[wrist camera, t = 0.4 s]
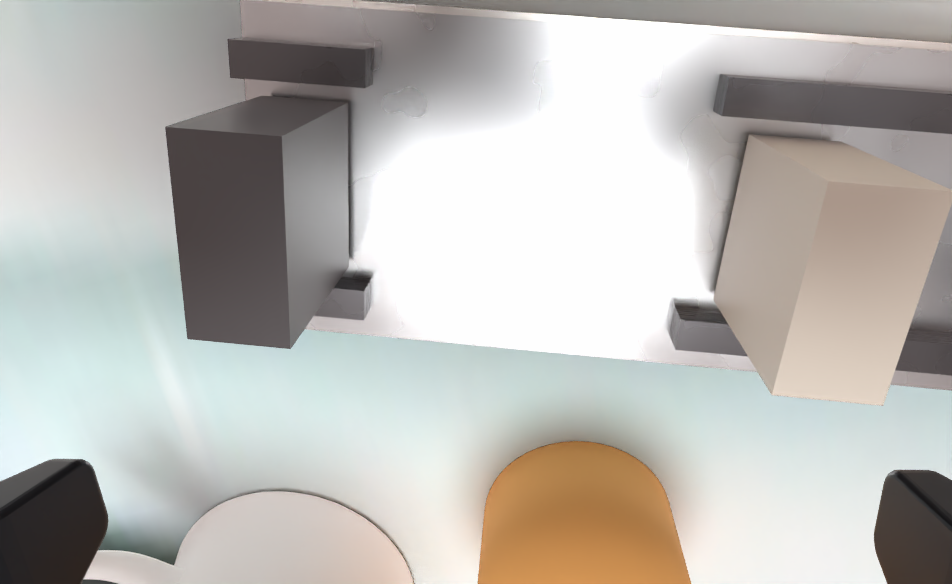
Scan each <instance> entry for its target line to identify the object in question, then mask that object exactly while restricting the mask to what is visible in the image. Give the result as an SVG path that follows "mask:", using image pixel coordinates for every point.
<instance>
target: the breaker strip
mask: <svg viewBox="0 0 952 584" xmlns="http://www.w3.org/2000/svg"><path fill="white" fill-rule="evenodd" d="M240 10H241V27H242V38H234V39H228V50H229V65H230V78H240V79H245V94H246V101H247V100H250V99H253V98H256V97H259V96H274V97H286V98H299V99H312V100H324V101H337V102H348V203H349V267H348V269H347V270H346V271H345V273H344V274H343V276H342V277H341V279H340V280H339V281H338V283H337V284H336V286H335V287H334V288H333V290H332V291H331V293H330V294H329V295H328V297H327V298H326V300H325V301H324V302H323V304H322V305H321V307H320V308H319V309H318V311H317V312H316V314H315V315H314V316H313V318H312V319H311V321H310V322H309V323H308V325H307V326H306V328H305V329H308V330H319V331H329V332H340V333H351V334H361V335H372V336H382V337H393V338H403V339H414V340H425V341H435V342H446V343H456V344H467V345H477V346H488V347H499V348H509V349H520V350H530V351H541V352H551V353H562V354H573V355H583V356H594V357H604V358H615V359H625V360H636V361H647V362H657V363H668V364H678V365H689V366H699V367H710V368H721V369H731V370H742V371H752V372H757V370H756V369H755V367H754V365H753V364H752V362H751V360H750V359H749V357H748V356H747V354H746V352H745V351H744V349H743V347H742V346H741V344H740V342H739V341H738V339H737V338H736V336H735V334H734V333H733V331H732V329H731V328H730V326H729V325H728V323H727V321H726V320H725V318H724V316H723V315H722V313H721V312H720V310H719V308H718V307H717V305H716V303H715V302H714V300H713V298H714V294H715V289H716V285H717V280H718V275H719V271H720V266H721V261H722V257H723V252H724V247H725V243H726V238H727V234H728V229H729V224H730V220H731V215H732V210H733V206H734V201H735V197H736V192H737V187H738V183H739V178H740V173H741V169H742V164H743V159H744V155H745V150H746V146H747V141H748V136H749V134H753V135H766V136H778V137H791V138H804V139H816V140H829V141H841V142H843V143H846V144H848V145H850V146H852V147H855V148H857V149H859V150H862V151H864V152H866V153H869V154H871V155H873V156H875V157H878V158H880V159H882V160H885V161H887V162H889V163H891V164H894V165H896V166H898V167H901V168H903V169H905V170H907V171H910V172H912V173H914V174H917V175H919V176H921V177H924V178H926V179H928V180H930V181H933V182H935V183H937V184H940V185H942V186H944V187H946V188H949V189H951V190H952V43H942V42H928V41H914V40H900V39H886V38H873V37H859V36H845V35H831V34H818V33H804V32H790V31H776V30H762V29H749V28H735V27H721V26H707V25H693V24H680V23H666V22H652V21H638V20H624V19H611V18H597V17H583V16H569V15H555V14H542V13H528V12H514V11H500V10H486V9H473V8H459V7H445V6H431V5H417V4H404V3H390V2H376V1H362V0H240ZM890 385H900V386H911V387H921V388H932V389H943V390H952V204H951V207H950V210H949V213H948V216H947V219H946V222H945V225H944V228H943V231H942V234H941V237H940V240H939V243H938V246H937V248H936V251H935V254H934V257H933V260H932V263H931V266H930V269H929V272H928V275H927V278H926V281H925V284H924V287H923V290H922V293H921V295H920V298H919V301H918V304H917V307H916V310H915V313H914V316H913V319H912V322H911V325H910V328H909V331H908V334H907V337H906V340H905V343H904V345H903V348H902V351H901V354H900V357H899V360H898V363H897V366H896V369H895V372H894V375H893V378H892V381H891V384H890Z"/></svg>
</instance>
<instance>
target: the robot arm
mask: <svg viewBox="0 0 952 584" xmlns="http://www.w3.org/2000/svg"><path fill="white" fill-rule="evenodd" d="M107 527H108V514H107V510H106V507H105V503H104V500H103V497H102V494H101V490H100V487H99V484H98V481H97V478H96V474H95V471H94V469H93V467H92V466H91V464H90V463H89V462H87V461H85V460H83V459H52V460H48V461H46V462H43V463H41V464H39V465H37V466H34V467H32V468H30V469H28V470H25V471H23V472H21V473H18V474H16V475H14V476H12V477H9V478H7V479H5V480H3V481H0V584H81V583H82V581H83V579H84V577H85V575H86V573H87V571H88V569H89V567H90V565H91V563H92V561H93V559H94V557H95V555H96V553H97V551H98V549H99V547H100V545H101V543H102V541H103V539H104V537H105V535H106V531H107ZM874 543H875V550H876V554H877V557H878V560H879V562H880V565H881V568H882V570H883V573H884V576H885V578H886V581H887V584H952V480H950V479H948V478H947V477H945V476H943V475H941V474H939V473H937V472H934V471H930V470H894V471H892V472H890V473H889V474H888V475H887V477H886V479H885V482H884V485H883V490H882V495H881V500H880V505H879V510H878V515H877V520H876V526H875V531H874Z"/></svg>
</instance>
